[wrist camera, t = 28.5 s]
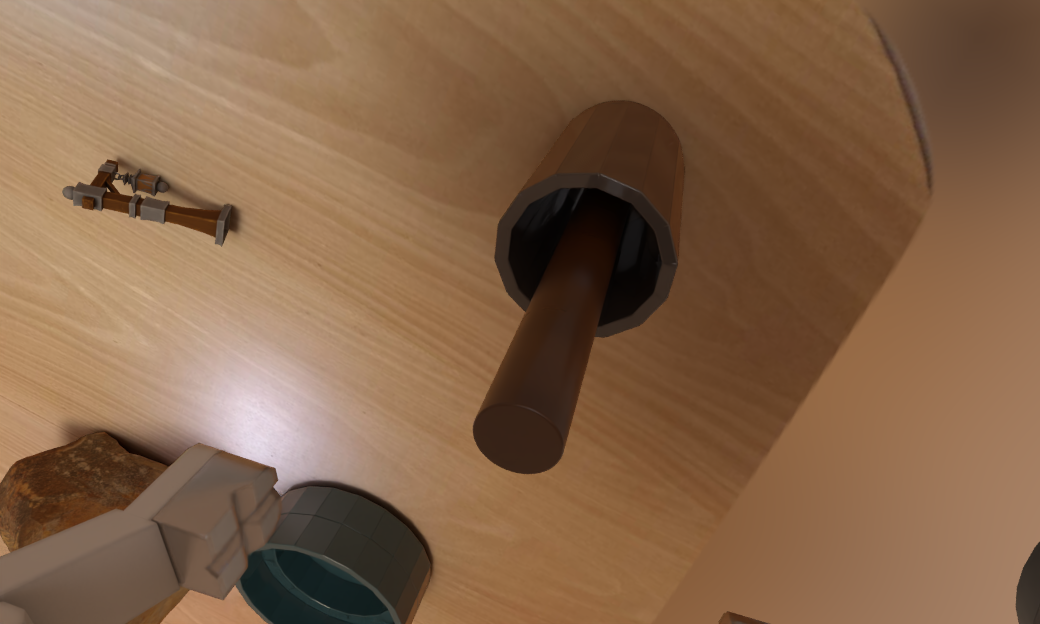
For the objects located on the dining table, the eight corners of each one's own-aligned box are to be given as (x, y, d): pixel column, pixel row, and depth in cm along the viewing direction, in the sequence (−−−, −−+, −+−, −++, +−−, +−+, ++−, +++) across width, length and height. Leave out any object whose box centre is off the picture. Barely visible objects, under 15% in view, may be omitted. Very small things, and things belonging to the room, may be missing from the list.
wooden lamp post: (90, 145, 34) (54, 184, 30) (241, 183, 37) (223, 223, 33) (91, 172, 35) (57, 213, 32) (238, 207, 38) (221, 249, 34)
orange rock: (93, 349, 47) (-142, 486, 35) (264, 475, 47) (90, 654, 35) (76, 484, 60) (-97, 616, 48) (208, 580, 61) (70, 735, 49)
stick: (643, 152, 27) (571, 419, 12) (633, 194, 28) (555, 485, 13) (599, 144, 27) (475, 393, 12) (592, 185, 28) (469, 460, 13)
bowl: (436, 511, 45) (403, 581, 40) (430, 612, 53) (402, 681, 48) (268, 460, 47) (218, 521, 42) (287, 565, 55) (246, 626, 50)
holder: (700, 112, 26) (699, 193, 17) (664, 238, 29) (650, 356, 21) (565, 87, 27) (504, 153, 18) (546, 213, 30) (487, 316, 22)
